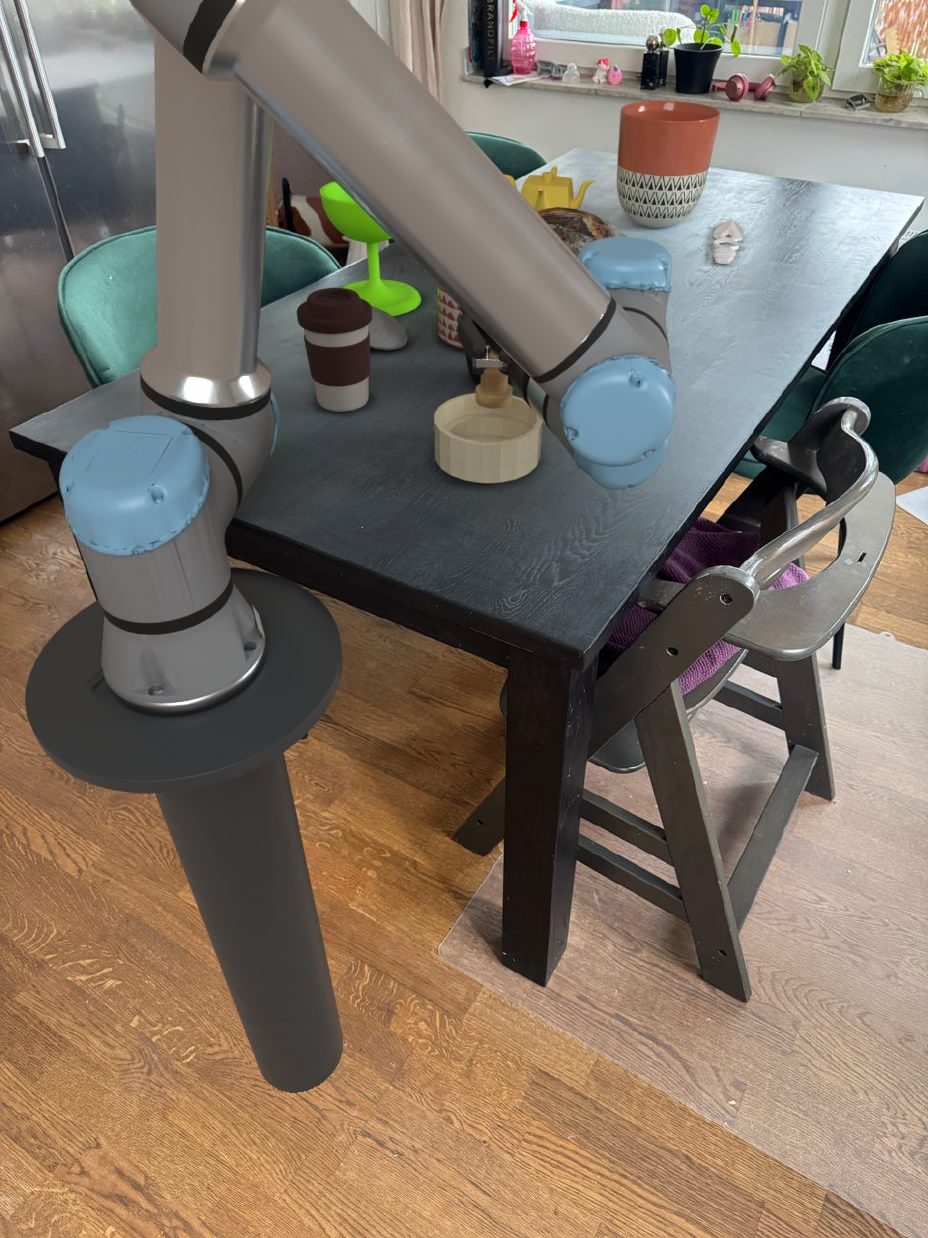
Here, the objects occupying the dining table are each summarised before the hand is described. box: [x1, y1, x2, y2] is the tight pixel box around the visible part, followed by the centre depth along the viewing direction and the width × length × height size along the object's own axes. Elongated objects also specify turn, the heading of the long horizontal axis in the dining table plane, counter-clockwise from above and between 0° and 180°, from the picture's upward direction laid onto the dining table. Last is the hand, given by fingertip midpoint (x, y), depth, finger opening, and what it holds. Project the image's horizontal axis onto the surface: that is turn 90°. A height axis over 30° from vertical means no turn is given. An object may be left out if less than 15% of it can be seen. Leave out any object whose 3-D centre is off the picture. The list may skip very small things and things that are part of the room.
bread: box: [538, 207, 628, 257], centre depth 160 cm, size 27×32×10 cm
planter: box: [616, 100, 722, 229], centre depth 177 cm, size 20×20×21 cm
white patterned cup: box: [436, 283, 465, 351], centre depth 136 cm, size 14×14×13 cm
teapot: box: [504, 166, 596, 212], centre depth 182 cm, size 15×14×10 cm
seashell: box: [368, 306, 408, 351], centre depth 136 cm, size 12×6×10 cm
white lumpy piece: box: [712, 219, 744, 265], centre depth 175 cm, size 6×28×1 cm, turn 163°
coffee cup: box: [296, 287, 372, 413], centre depth 118 cm, size 10×10×15 cm
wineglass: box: [319, 180, 422, 317], centre depth 145 cm, size 16×16×18 cm
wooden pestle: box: [474, 349, 513, 409], centre depth 97 cm, size 4×4×18 cm
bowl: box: [433, 392, 543, 484], centre depth 109 cm, size 13×13×6 cm
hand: (479, 296), depth 100 cm, fingers closed on wooden pestle, 3 cm apart
